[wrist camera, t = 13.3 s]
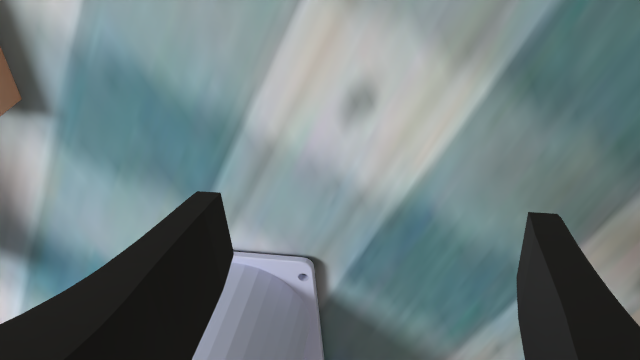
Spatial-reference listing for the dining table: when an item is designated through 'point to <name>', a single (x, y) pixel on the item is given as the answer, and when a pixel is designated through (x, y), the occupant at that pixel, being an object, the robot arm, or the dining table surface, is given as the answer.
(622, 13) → the dining table surface
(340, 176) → the dining table surface
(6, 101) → the tile
